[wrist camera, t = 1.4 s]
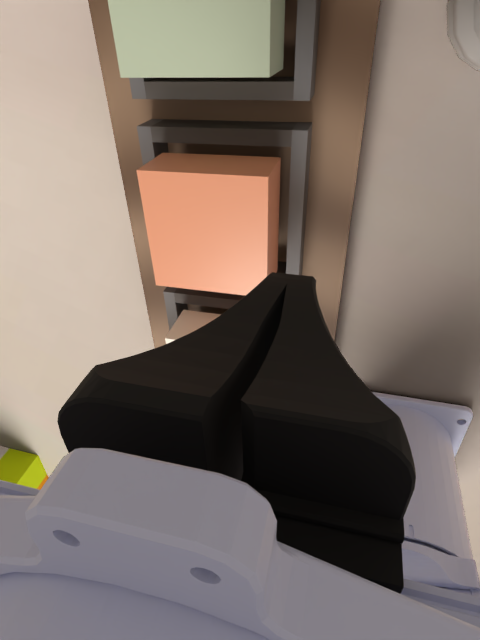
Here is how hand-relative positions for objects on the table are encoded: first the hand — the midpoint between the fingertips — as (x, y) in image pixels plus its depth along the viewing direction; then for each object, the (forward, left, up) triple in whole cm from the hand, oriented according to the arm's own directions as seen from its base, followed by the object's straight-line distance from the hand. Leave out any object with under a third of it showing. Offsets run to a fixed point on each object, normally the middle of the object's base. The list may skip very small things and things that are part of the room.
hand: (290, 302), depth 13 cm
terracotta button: (0, +4, -6) cm, 8 cm away
